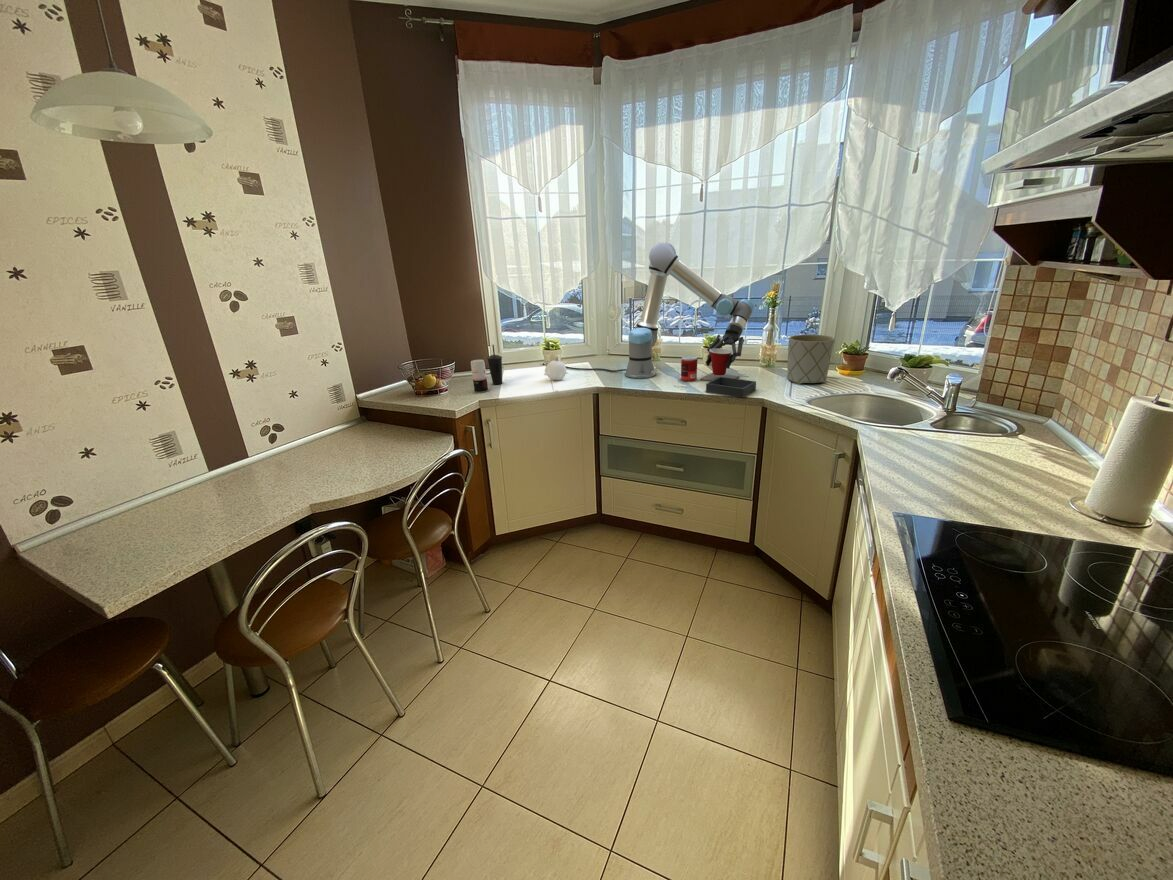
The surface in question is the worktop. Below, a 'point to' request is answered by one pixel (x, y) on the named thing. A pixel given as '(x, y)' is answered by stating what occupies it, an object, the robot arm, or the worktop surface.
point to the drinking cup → (495, 368)
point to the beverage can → (479, 376)
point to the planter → (809, 358)
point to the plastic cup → (719, 360)
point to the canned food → (688, 368)
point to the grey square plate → (713, 377)
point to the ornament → (556, 369)
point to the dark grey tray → (731, 387)
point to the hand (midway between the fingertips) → (717, 365)
